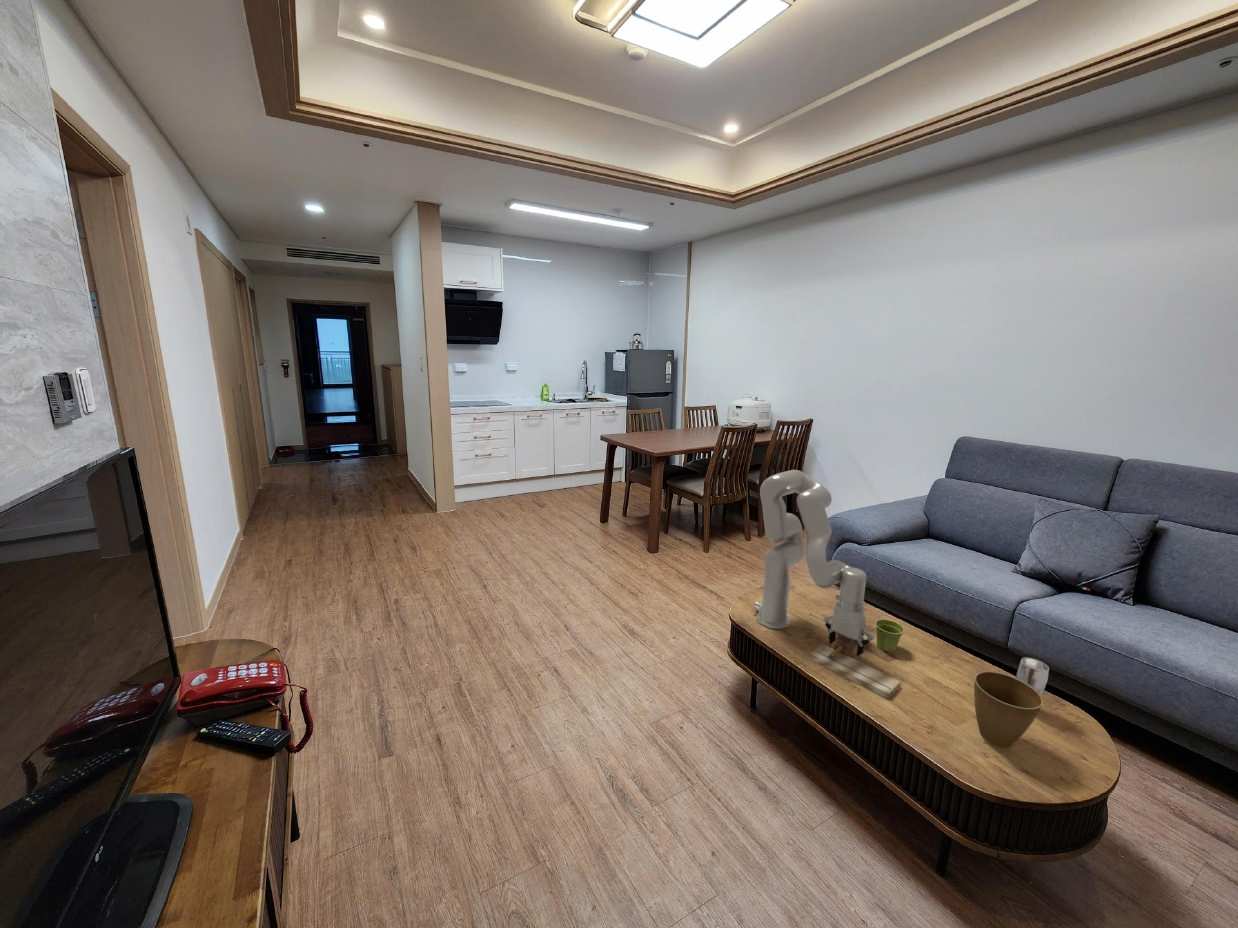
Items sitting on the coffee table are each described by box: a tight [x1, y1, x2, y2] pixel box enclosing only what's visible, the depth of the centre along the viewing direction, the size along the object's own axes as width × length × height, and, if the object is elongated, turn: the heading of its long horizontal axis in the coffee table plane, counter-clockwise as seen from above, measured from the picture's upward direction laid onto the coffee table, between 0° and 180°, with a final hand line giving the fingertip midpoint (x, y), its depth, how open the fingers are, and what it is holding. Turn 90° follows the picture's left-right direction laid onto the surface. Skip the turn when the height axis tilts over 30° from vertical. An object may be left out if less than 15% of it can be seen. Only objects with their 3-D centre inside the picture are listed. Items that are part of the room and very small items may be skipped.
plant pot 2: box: [973, 670, 1044, 748], centre depth 137 cm, size 15×15×16 cm
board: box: [809, 643, 901, 700], centre depth 166 cm, size 26×9×2 cm, turn 40°
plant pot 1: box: [874, 618, 905, 653], centre depth 180 cm, size 9×9×9 cm
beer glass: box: [1015, 657, 1050, 697], centre depth 150 cm, size 7×7×15 cm
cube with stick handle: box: [829, 634, 855, 659], centre depth 173 cm, size 5×11×6 cm, turn 130°
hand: (845, 648), depth 175 cm, fingers open, 9 cm apart
